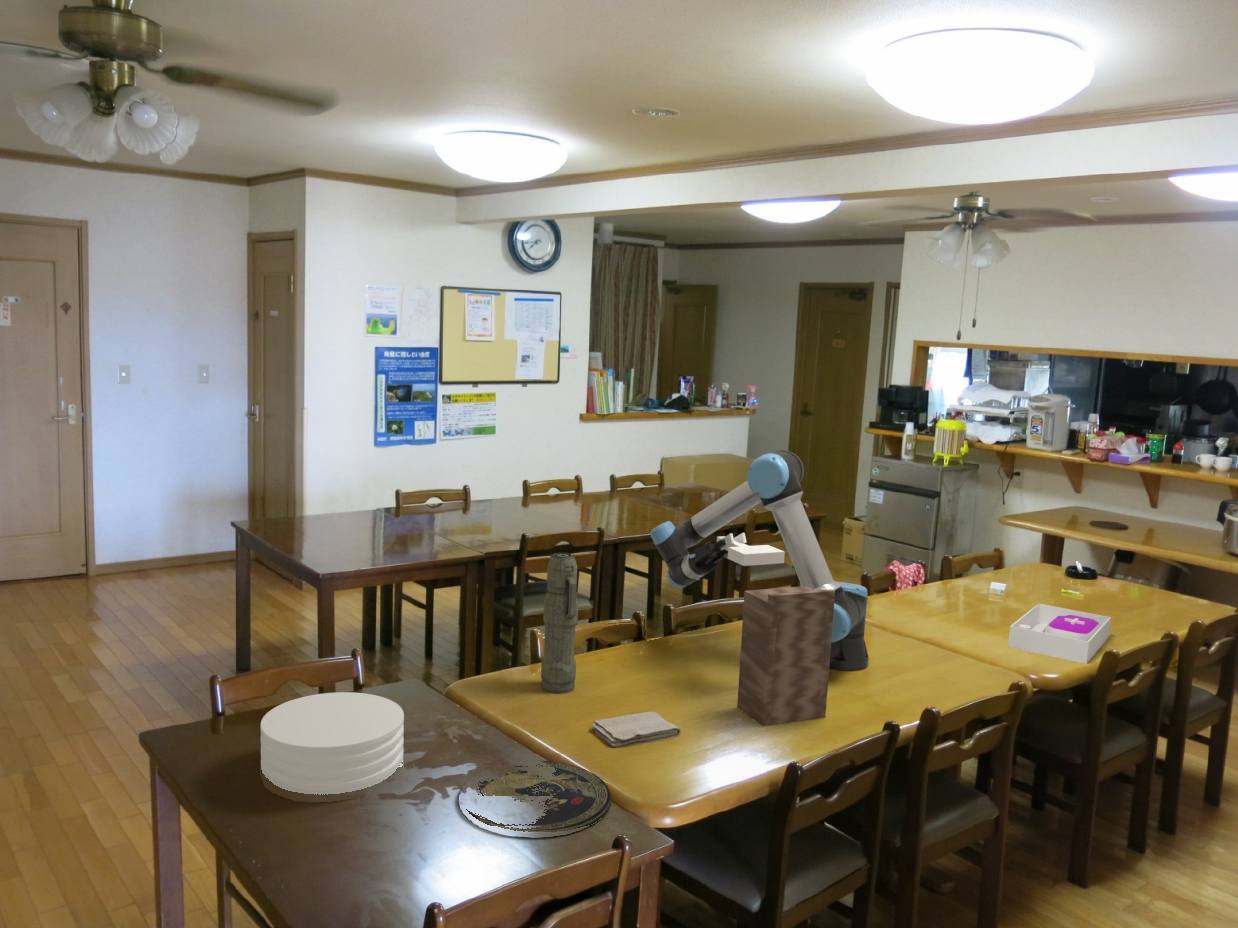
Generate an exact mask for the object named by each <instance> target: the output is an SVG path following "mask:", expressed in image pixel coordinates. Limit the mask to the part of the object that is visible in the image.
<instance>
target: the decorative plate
mask: <svg viewBox="0 0 1238 928" xmlns="http://www.w3.org/2000/svg"><path fill="white" fill-rule="evenodd" d="M540 761H541V762H543V763H546V765H547V766H550V767H554V768H555V770H556V769H557V770H556V772H554V773H552V774H554V775H555V777H557V778H555V779H554V778H553V777H554V776H553V775H552V776H553V777H551V778H552V779H550V781H549V778H547V779H548V780H545V781H546V782H544V779H545V777H542V776H541V777H542V778H544V779H541V778H540V777H539V776H538V775H537V777H535V775H534V774H532V773H530V772H527V771H519V770H518V772H516V773H514V772H511V773H513V774H511V773H509V772H508V773H509V774H507V773H506V775H505V776H503V777H502V778H501V779H502V780H501V779H500V780H497V779H496V780H497V782H496V781H495V780H493V779H492V780H491V781H490V782H488V781H486V780H485V781H483V783H482V782H480V781H479V782H480V783H481V784H482V785H481V784H479V783H478V784H479V785H480V786H479V785H478V786H479V787H480V788H481V789H480V788H479V790H480V793H481V794H482V796H484V795H486V796H493V795H495V796H534V795H535V796H551V799H550V800H549V798H548V799H547V800H546V801H545V805H547V807H546V806H544V807H546V808H548V809H545V810H547V811H546V812H543V813H545V814H546V815H545V816H541V817H542V818H540V817H539V818H540V819H536V820H538V821H536V823H535V824H529V825H527V824H525V825H527V826H530V825H531V826H540V827H536V828H531V829H529V828H527V829H523V828H522V829H519V828H513V827H511V828H509V827H505V826H512V825H514V826H518V825H515V824H512V825H509V824H507V825H504V824H502V823H500V824H497V823H495V822H493V821H491V820H488V819H487V818H485V817H482V816H481V815H480V816H478V815H479V814H478V815H475V814H476V813H475V814H473V813H472V812H470V811H468V810H467V809H466V810H467V811H468V812H469V814H471V815H472V816H473V817H475V818H476V819H478V820H479V821H481V822H483V823H485V824H487V825H490V826H498V827H501V828H504V829H510V830H514V831H516V830H517V831H523V832H525V831H528V832H557V831H566V830H567V831H568V830H572V829H576V828H580V827H583V826H588V825H591V824H593V823H595V822H596V821H598V820H599V819H600V818H602V817H603V816H604V815H605V814H606V813H607V814H608V812H609V810H610V808H611V805H612V793H611V791H610V789H609V786H608V785H607V784H606V783H605V781H604V780H603V779H602V778H600V776H598V775H596V774H595V773H593V772H591V771H589V770H587V769H586V768H583V767H579V766H577V765H572V764H567V763H565V762H564V763H563V762H558V761H550V760H540ZM501 764H502V765H504V764H505V763H501ZM538 765H540V764H538ZM513 766H514V767H523V766H515V765H513ZM536 766H537V765H536ZM541 766H542V767H543V765H541ZM547 766H546V767H547ZM524 767H528V766H524ZM539 767H540V766H539ZM563 774H564V775H563ZM533 777H535V779H534V778H533ZM548 777H549V776H548ZM538 779H540V780H538ZM542 782H543V783H542ZM548 782H549V783H548ZM531 783H532V784H531ZM540 784H541V785H540ZM547 784H548V785H547ZM536 785H539V786H540V787H541V788H542V789H545V790H543V792H542V791H539V790H542V789H539V786H536ZM545 785H546V786H545ZM533 786H536V787H537V788H538V789H539V790H536V791H539V793H538V792H536V794H534V793H532V792H535V791H532V790H531V789H532V788H533V789H535V788H536V787H533ZM542 786H544V788H543V787H542ZM530 787H531V788H530ZM477 790H478V789H477ZM527 790H528V791H527ZM485 793H486V794H485ZM542 793H543V794H542ZM483 794H484V795H483ZM538 794H539V795H538ZM478 795H479V794H478ZM552 796H553V797H552ZM512 798H514V797H512ZM518 798H519V797H518ZM523 798H525V797H523ZM516 800H519V799H516V798H515V799H514V801H516ZM522 800H525V799H522V798H521V799H520V802H524V801H522ZM548 800H549V801H548ZM526 801H528V800H526ZM531 801H533V800H531ZM543 802H544V801H543ZM526 803H527V802H526ZM539 803H540V802H539ZM542 806H543V805H542ZM545 810H544V811H545ZM607 814H606V815H607ZM606 815H605V816H606ZM605 816H604V817H605ZM480 817H482V818H480ZM604 817H603V818H604ZM483 818H485V819H483ZM543 818H544V819H543ZM603 818H602V819H603ZM532 823H534V822H532ZM519 825H521V824H519ZM522 826H524V825H522Z"/></svg>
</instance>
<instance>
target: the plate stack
mask: <svg viewBox="0 0 1238 928" xmlns="http://www.w3.org/2000/svg"><path fill="white" fill-rule="evenodd" d="M404 713H405V712H404V710H403V708H402V707H401V706H400V705H399V704H398V703H396V702H395V701H394V700H392V699H388V698H387V697H383V696H380V695H375V694H370V693H362V692H353V691H351V692H349V691H348V692H346V691H345V692H343V691H342V692H340V691H338V692H326V693H317V694H311V695H307V696H302V697H297V698H295V699H291V700H288V701H286V702H283V703H281V704H279V705H277V706H275V707H273V708H272V709H271V710H269V711H267V712H266V713H265V715H264V716H263V717H262V719H261V721H260V771H261V770H262V773H263V774H264V775H265V777H266V778H268V779H269V781H271V782H272V783H273V784H274V785H276V786H278V787H280V788H282V789H285V790H288V791H292V792H298V793H304V794H314V795H315V794H316V795H317V794H319V795H321V794H322V795H323V794H324V795H325V794H327V795H328V794H340V793H345V792H352V791H356V790H361V789H364V788H367V787H371V786H373V785H375V784H378V783H380V782H382V781H383V780H385V779H387V778H388V777H389V776H391V775H392V774H393V773H394V772H395V771H396V769H397V768H398V767H402V766H403V767H404V739H405V738H404V733H405V731H404V730H405V728H404V727H405V726H404V723H405V714H404ZM401 762H403V764H402V763H401ZM399 765H400V766H399Z"/></svg>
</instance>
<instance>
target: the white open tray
mask: <svg viewBox="0 0 1238 928" xmlns="http://www.w3.org/2000/svg"><path fill="white" fill-rule="evenodd" d="M1111 622H1112V617H1111V616H1105V615H1101V614H1096V613H1092V612H1091V613H1090V612H1086V611H1081V610H1075V609H1069V608H1065V607H1059V606H1054V605H1048V604H1044V603H1043V604H1042V603H1037V604H1036V605H1034V606H1033V607H1032V608H1031V609H1029V610H1028V611H1027V612H1026V613H1025V614H1024V615H1022V616H1021V617H1020V618H1019V619H1017V620H1016V621H1014V622H1013V623H1012V624H1011V625H1010V626H1009V636H1008V644H1007V647H1008V648H1011V649H1015V650H1016V649H1017V650H1022V651H1026V652H1031V653H1033V654H1039V655H1044V656H1049V657H1054V658H1057V659H1062V660H1067V661H1072V662H1075V663H1080V664H1085V665H1086V664H1087V663H1089V661H1091V659H1092V657H1094V655H1096V653H1098V651H1099V649H1101V647H1102V646H1104V644H1105V642H1107V640H1108V639H1109V637H1110V631H1111Z"/></svg>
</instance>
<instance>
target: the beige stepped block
mask: <svg viewBox="0 0 1238 928" xmlns="http://www.w3.org/2000/svg"><path fill="white" fill-rule="evenodd" d="M724 537H725V535H723V536H716V541H717V542H718V541H719V540H721V539H722V538H724ZM725 550H727V551H728V559H727V560H729V559H730V561H733V562H734V563H737V564H738V565H740V566H743V567H746V566H747V567H748V566H761V565H776V564H785V550H781V549H779V548H777V547H774V546H771V545H769V544H762V545H760V544H759V545H757V544H756V545H748V544H747V543H745V544H744V543H741V542H739V541H737V540H734V544H732V545H731V546H729V547H728V548H726V549H725Z"/></svg>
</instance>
